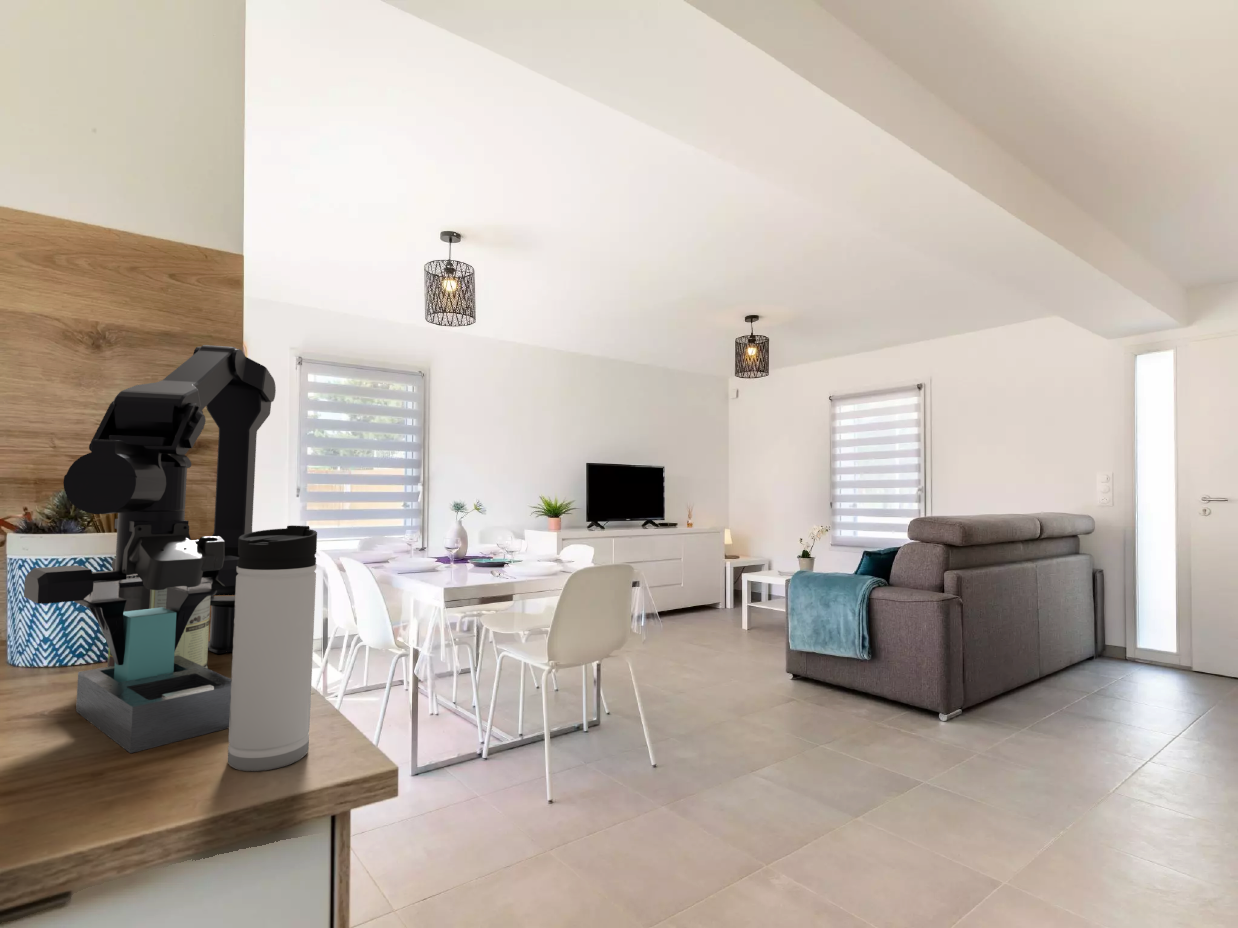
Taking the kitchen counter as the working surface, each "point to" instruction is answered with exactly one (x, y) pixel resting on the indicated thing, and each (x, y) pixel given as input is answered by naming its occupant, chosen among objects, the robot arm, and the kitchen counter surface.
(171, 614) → the teal peg
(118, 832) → the kitchen counter surface
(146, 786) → the kitchen counter surface
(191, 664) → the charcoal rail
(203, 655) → the coffee can
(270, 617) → the travel mug
